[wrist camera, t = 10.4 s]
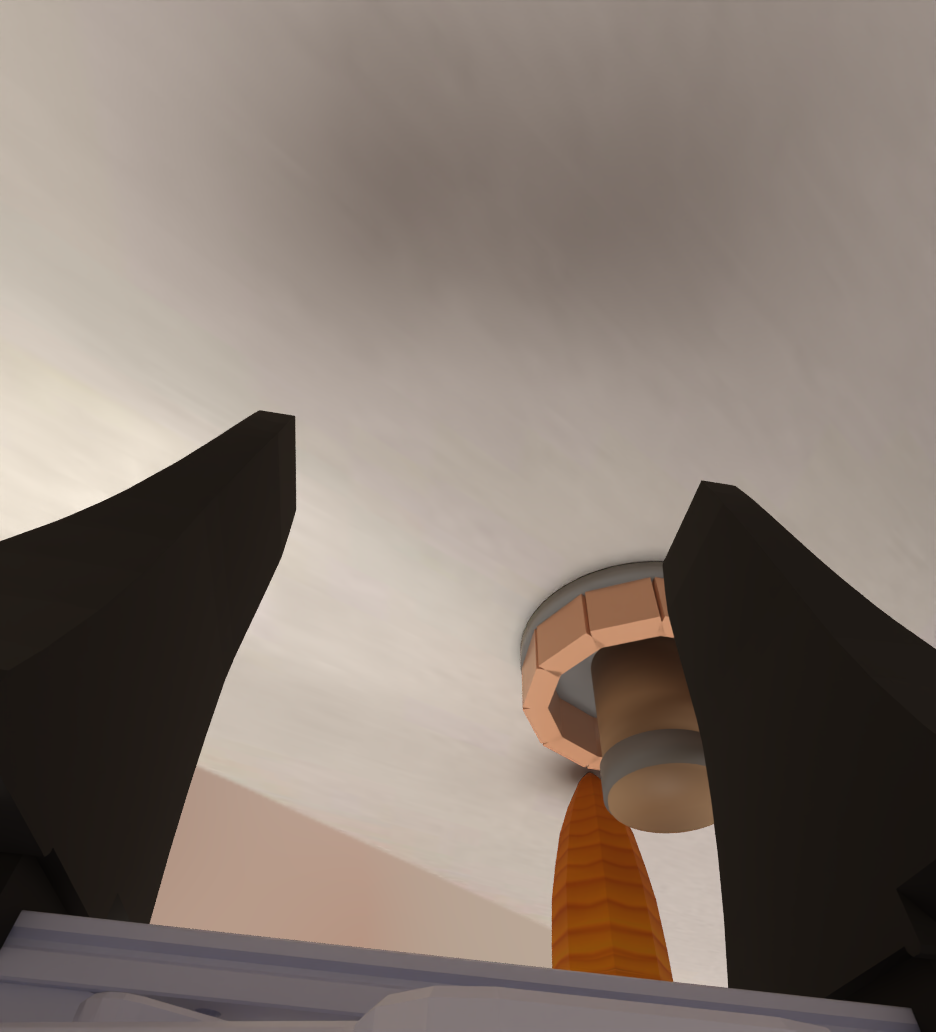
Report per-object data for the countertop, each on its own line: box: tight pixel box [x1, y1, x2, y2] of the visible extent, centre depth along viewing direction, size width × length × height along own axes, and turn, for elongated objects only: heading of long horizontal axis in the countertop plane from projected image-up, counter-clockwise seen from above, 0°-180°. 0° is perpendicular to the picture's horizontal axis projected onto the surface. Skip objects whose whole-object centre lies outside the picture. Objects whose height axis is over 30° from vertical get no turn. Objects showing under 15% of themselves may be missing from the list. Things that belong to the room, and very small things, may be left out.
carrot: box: [552, 772, 673, 982], centre depth 28 cm, size 5×5×15 cm
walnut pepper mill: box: [591, 636, 714, 833], centre depth 25 cm, size 5×5×6 cm
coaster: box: [521, 562, 674, 770], centre depth 27 cm, size 10×10×3 cm
